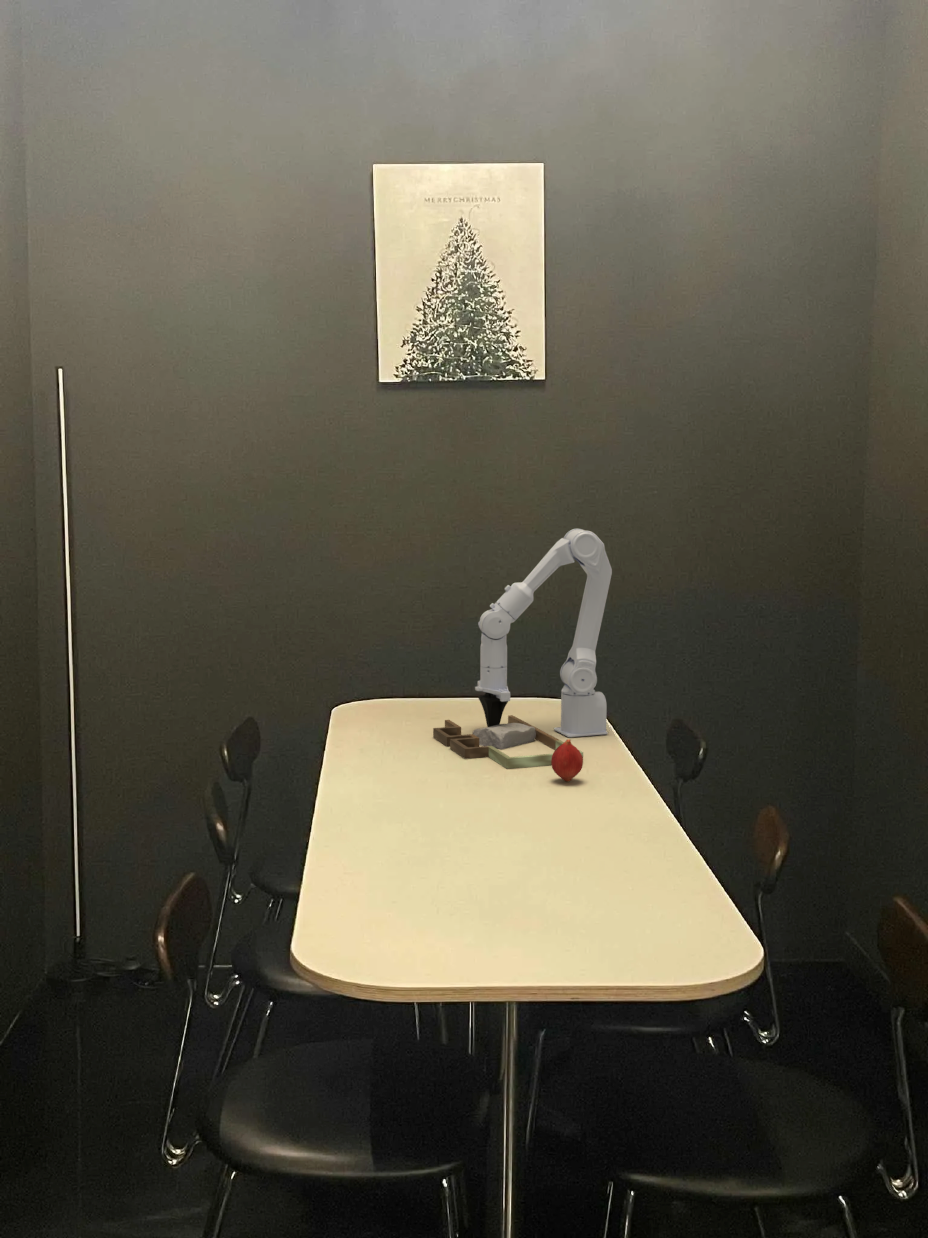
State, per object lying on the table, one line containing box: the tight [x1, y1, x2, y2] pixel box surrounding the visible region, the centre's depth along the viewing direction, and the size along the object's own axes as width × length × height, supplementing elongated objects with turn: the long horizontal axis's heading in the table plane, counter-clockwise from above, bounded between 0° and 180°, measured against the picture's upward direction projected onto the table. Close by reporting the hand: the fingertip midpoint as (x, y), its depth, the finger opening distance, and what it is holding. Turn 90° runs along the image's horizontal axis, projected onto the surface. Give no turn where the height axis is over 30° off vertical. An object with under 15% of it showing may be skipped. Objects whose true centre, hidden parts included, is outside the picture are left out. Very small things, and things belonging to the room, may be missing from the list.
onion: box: [551, 738, 584, 783], centre depth 221 cm, size 6×6×8 cm
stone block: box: [471, 722, 536, 750], centre depth 253 cm, size 12×5×10 cm
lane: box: [432, 714, 584, 770], centre depth 249 cm, size 21×37×2 cm, turn 20°
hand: (493, 728), depth 259 cm, fingers closed
